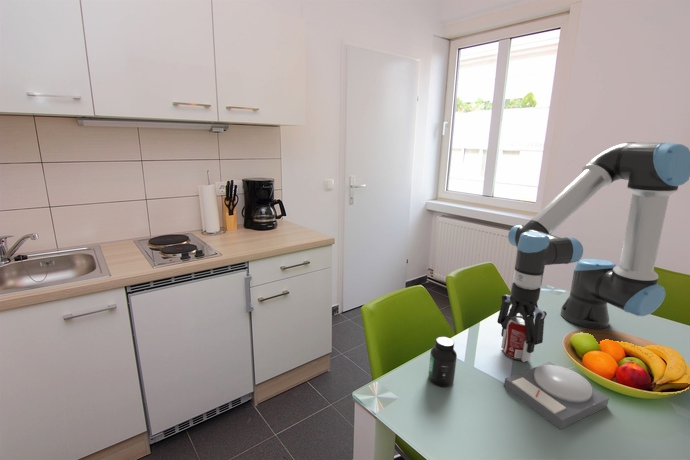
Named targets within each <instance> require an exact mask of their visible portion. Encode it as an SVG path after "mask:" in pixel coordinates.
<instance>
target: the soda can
mask: <svg viewBox="0 0 690 460" xmlns="http://www.w3.org/2000/svg"><path fill="white" fill-rule="evenodd" d="M525 341H527V335H526V329H525V322H524V320H523V317H522V315H517V316H515V317H511V319H510V320H509V321H508V323H507V329H506V336H505V342H504V349H503V348H502V349H503V353H504V354H505V355H506V356H507V357H509V358H510V359H513V360H516V359H517V360H518V361H520V360H521V359H522V354H523V348H524V342H525Z"/></svg>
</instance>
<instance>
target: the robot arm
mask: <svg viewBox="0 0 690 460" xmlns="http://www.w3.org/2000/svg"><path fill="white" fill-rule="evenodd" d="M619 180H625V181H626V180H627V181H628V182H627V185H626V186H627V187H626V188H627V189H628V190H629V191H630V192H631V198H630V199H631V200H630V205H629V210H628V214H627V222H626V227H625V232H624V238H623V243H622V249H621V254H620V260H619V264H618V265H616V264H617V263H615V262H613V261H609V260H605V259H597V258H582V257H583V256H584V255H583V254H584V248H583V247H584V246H583V245H582V243H581V242H580V241H579V240H578V239H577V238H574V237H567V236H566V237H565V236H564V237H559V236H556V235H553V233H554V232H555V231H556V230H557V229H558V228H560V227H561V225H563V223H565V222H567V220H568V219H569V218H570V217H571V216H573V215H574V214H575V212H577V211H578V210H579V209H580V208H582V206H583V205H585V203H587V202H588V201H589V200H590V199H591V198H592V197H593V196H595V194H597V193H598V192H599V191H600V190H601V189H603V188H607V187H609V186H610V185H612V183H613V182H616V181H619ZM689 180H690V149H689V147H688V146H686V145H684V144H681V143H674V142H673V143H672V142H666V141H665V142H635V141H634V142H633V141H631V142H630V141H629V142H623V143H619V144H616V145H613V146H612V147H610V148H608V149H606V150H604V151H602V152H601V153H599V154H597V155H596V156H595V157H593V158H592V159H591V160H589V161H588V162H587V163H586V164H585V165H584V166H583V167H582V170H581V173H580V174H579V175H578V176H577V177H575V178H574V179H573V180H572V181H571V182H570V183H569V184H567V186H566V187H565V188H564V189H563V190H562V191H560V192H559V193H558V194H557V195H556V196H555V197H554V198H553V199H551V200H550V202H548V203H547V204H546V205H545V206H544V207H543V208H542V209H541V210H540V211H538V212H537V213H536V214H535V215H534V216H533V217H532V218H531V219H530V220H529V221H528V222H527V223H526V224H516V225H514V226H512V227H511V228H510V230H509V231H508V235H507V239H508V242H509V244H510V245H512V246H514V247H515V248H516V256H515V263H514V270H513V271H514V272H513V276H512V284H511V289H510V294H509V293H507V294H504V295H501V305H500V309H499V313H498V317H497V323H498V324H499V325H501V337H502V341H501V349H504V342H505V336H506V329H507V323H508V321H509V320H510V319H511V317H515V316H518V314H519V315H520V316H522V317H523V320H524V322H525V329H526V335H527V341H525V342H524V348H523V354H522V359H521V361H522V362H523V363H525V362H527V361H531V356H532V355H531V354H532V353H534V352H535V346H537V345H539V344H542V343H543V342H544V341H543V340H544V328H545V327H544V326H545V319H546V317H547V311H542V310H541V309H539V307H538V301H539V299H540V295H541V290H542V289H541V287H542V285H543V284H542V283H543V277H544V271H545V266H552V265H562V264H563V265H564V264H565V265H568V264H573V263H575V267H574V269H573V274H572V280H571V287H570V291H569V296H568V297H567V298H566V300H565V302H564V303H563V305H562V307H561V309H560V315H561V316H562V318H564V319H565V320H566V321H567V322H570V323H572V324H574V325H576V326H580V327H583V328H587V329H595V330H597V329H598V330H601V329H606V328H608V326H609V324H610V315H609V314H610V313H609V310H608V309H609V308H608V304H609V305H611V306H613V307H616V308H618V309H620V310H622V311H624V312H625V313H628V314H630V315H634V316H636V317H645V316H649V315H651V314H652V313H654V312H656V310H658V309H659V307H660V306H661V305H662V303H663V302H664V300H665V297H666V290H665V288H664V286H663V285H661V284H658V282H659V274H658V273H657V272H656V271H655V265H656V260H657V256H658V252H659V248H660V247H659V245H660V242H661V241H660V240H661V238H662V237H661V236H662V233H663V232H662V231H663V227H664V222H665V218H666V212H667V207H668V204H669V203H668V202H669V198H670V195H673V194H674V193H676V192H677V191H678V190H679V186H682V185H685V184H686V183H687V182H689ZM581 258H582V259H581ZM510 306H511V307H510Z"/></svg>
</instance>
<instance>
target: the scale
mask: <svg viewBox="0 0 690 460" xmlns="http://www.w3.org/2000/svg"><path fill="white" fill-rule="evenodd" d="M503 382H504V383H503V387H504V388H505V389H507V390H508V391H509V392H511V393H512V394H513V395H515V396H516V397H517V396H518V397H517V398H519V399H520V400H521V401H522V402H524V403H525V404H527V405H528V406H530V408H531V409H533V410H534V411H535V412H537V413H538V414H540V415H541V416H542V417H543V418H545V419H546V420H548V421H549V422H550V423H552V424H553V425H554V426H556V427H557V428H558V429H559V430H563V429H564V428H566V427H568V426H571V425H572V424H574V423H576V422H578V421H580V420H582V419H584V418H586V417H589V416H590V415H592V414H594V413H596V412H598V411H601V410H602V409H605V408H607V407H608V403H609V400H610V398H609V396H607V395H605V394H604V393H602V392H600V391H599V390H597V389H595V388H594V387H592V385H591V383H590V382H589V381H588V380H587V379H586V378H585V377H584V376H582V375H581V374H579V373H577V372H575V371H574V370H572V369H570V368H567V367H564V366H560V365H556V364H554V363H552V362H551V361H548V362H545V363H543V364H540V365H538V366H534V367H532V368H529V369H527V370H524V371H521V372H518V373H515V374H512V375H509V376H507V377H505V378H504V381H503Z"/></svg>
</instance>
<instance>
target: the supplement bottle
mask: <svg viewBox="0 0 690 460" xmlns="http://www.w3.org/2000/svg"><path fill="white" fill-rule="evenodd" d="M457 355H458V354H457V352H456V351H455V341H454V340H453V339H452V338H450V337H448V336H438V337H436V338H435V342H434V346H432V348H431V350H430V355H429V365H428V366H429V367H428V380H429V381H430V382H431V383H432V384H433V385H434V386H436V387H439V388H449V387H451V386H452V385H453V384H454V381H455V375H456V365H457V360H458V359H457V357H458V356H457Z"/></svg>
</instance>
